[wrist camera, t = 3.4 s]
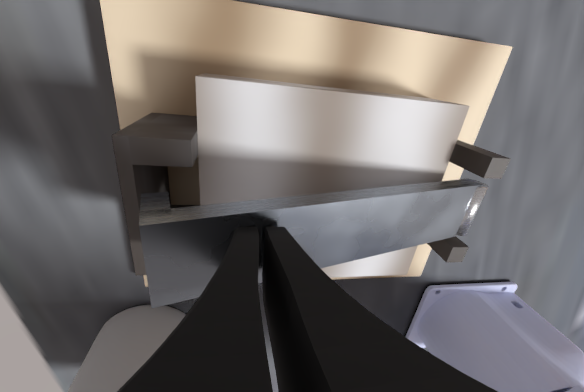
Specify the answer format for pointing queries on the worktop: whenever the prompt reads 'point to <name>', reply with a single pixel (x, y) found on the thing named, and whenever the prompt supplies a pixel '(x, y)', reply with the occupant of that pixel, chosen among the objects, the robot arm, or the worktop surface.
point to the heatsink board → (286, 54)
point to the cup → (124, 347)
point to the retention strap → (298, 228)
